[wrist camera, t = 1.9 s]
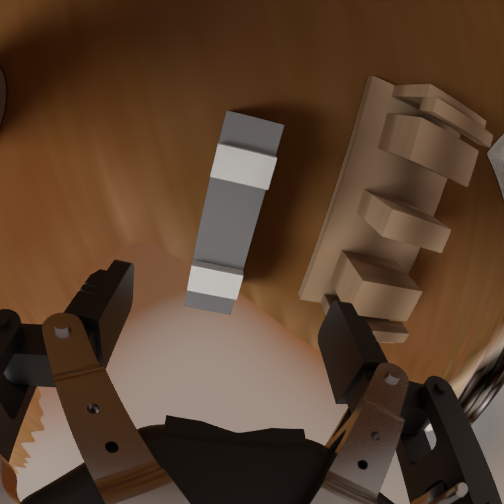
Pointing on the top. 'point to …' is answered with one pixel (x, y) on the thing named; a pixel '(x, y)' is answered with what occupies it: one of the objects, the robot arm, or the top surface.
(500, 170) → the supplement box
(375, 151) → the display stand
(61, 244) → the top surface
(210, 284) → the frame bar
